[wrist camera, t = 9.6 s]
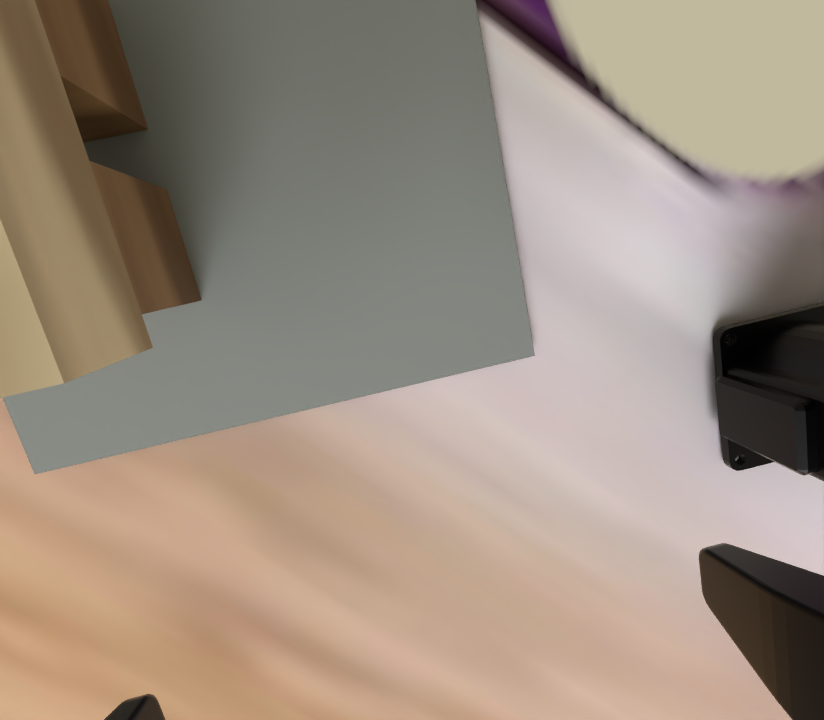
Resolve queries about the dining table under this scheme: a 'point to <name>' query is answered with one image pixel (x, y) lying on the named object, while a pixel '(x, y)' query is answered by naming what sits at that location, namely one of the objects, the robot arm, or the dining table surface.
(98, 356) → the maple plank
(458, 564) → the dining table surface
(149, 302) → the walnut post
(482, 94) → the slate mat
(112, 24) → the walnut post
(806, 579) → the robot arm
